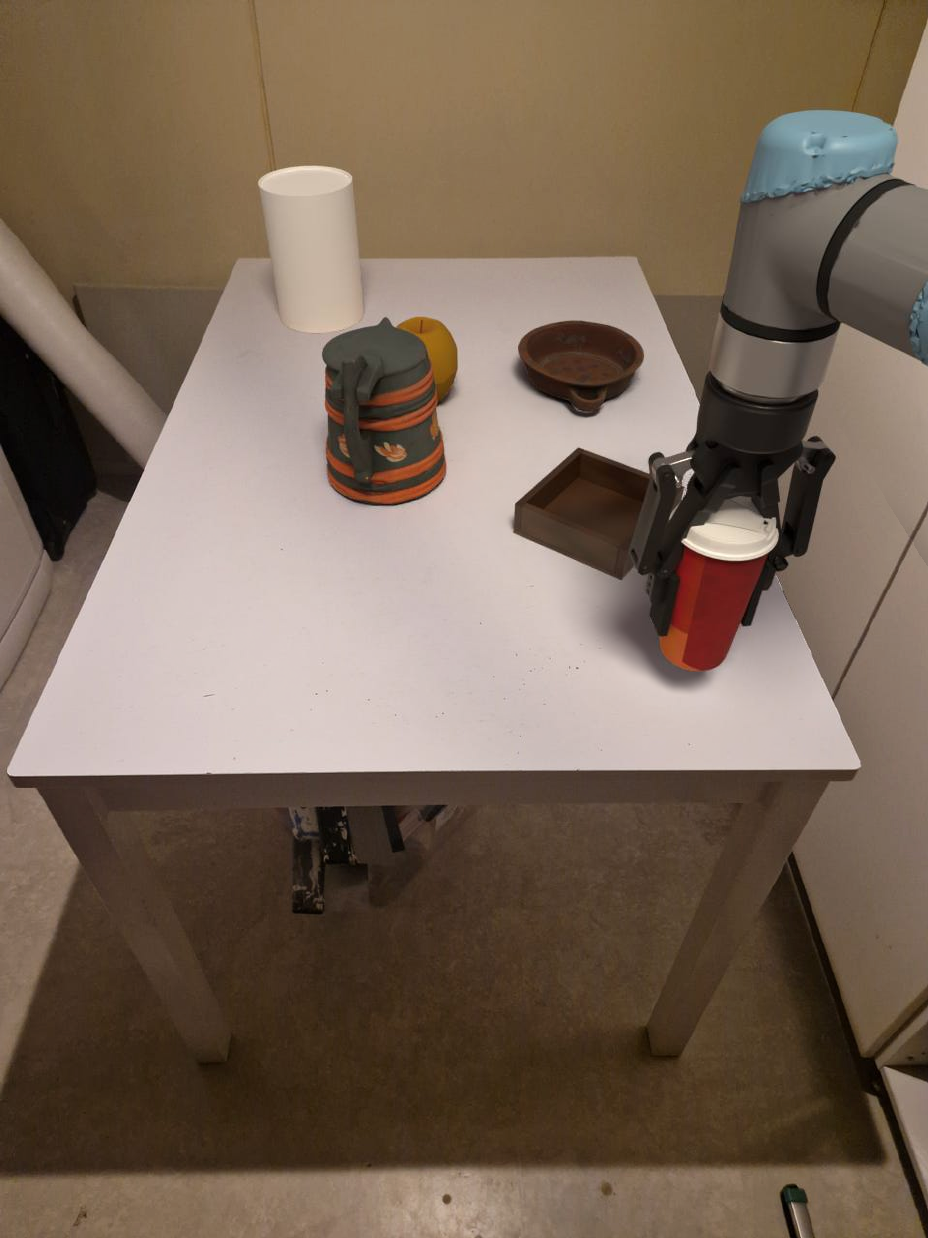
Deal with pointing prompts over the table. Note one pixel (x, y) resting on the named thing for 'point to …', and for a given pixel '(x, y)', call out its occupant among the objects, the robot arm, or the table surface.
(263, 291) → the table surface
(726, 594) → the coffee cup
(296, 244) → the canister
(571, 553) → the square wooden tray
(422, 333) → the apple
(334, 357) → the beer stein
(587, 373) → the dish
